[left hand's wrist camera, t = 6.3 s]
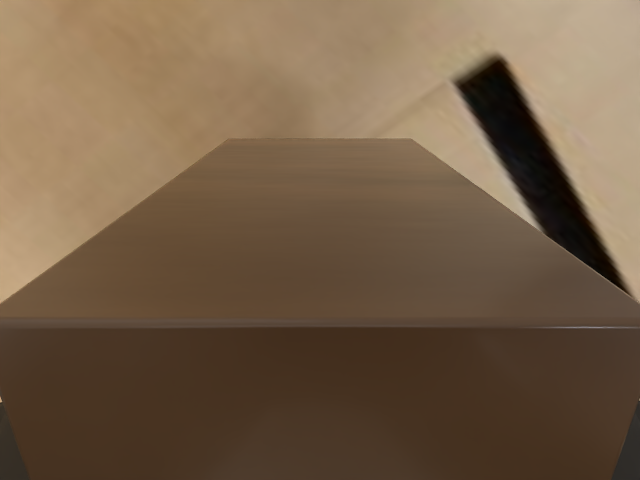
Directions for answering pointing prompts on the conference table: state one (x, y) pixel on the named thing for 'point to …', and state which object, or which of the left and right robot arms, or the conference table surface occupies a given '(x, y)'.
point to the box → (320, 331)
